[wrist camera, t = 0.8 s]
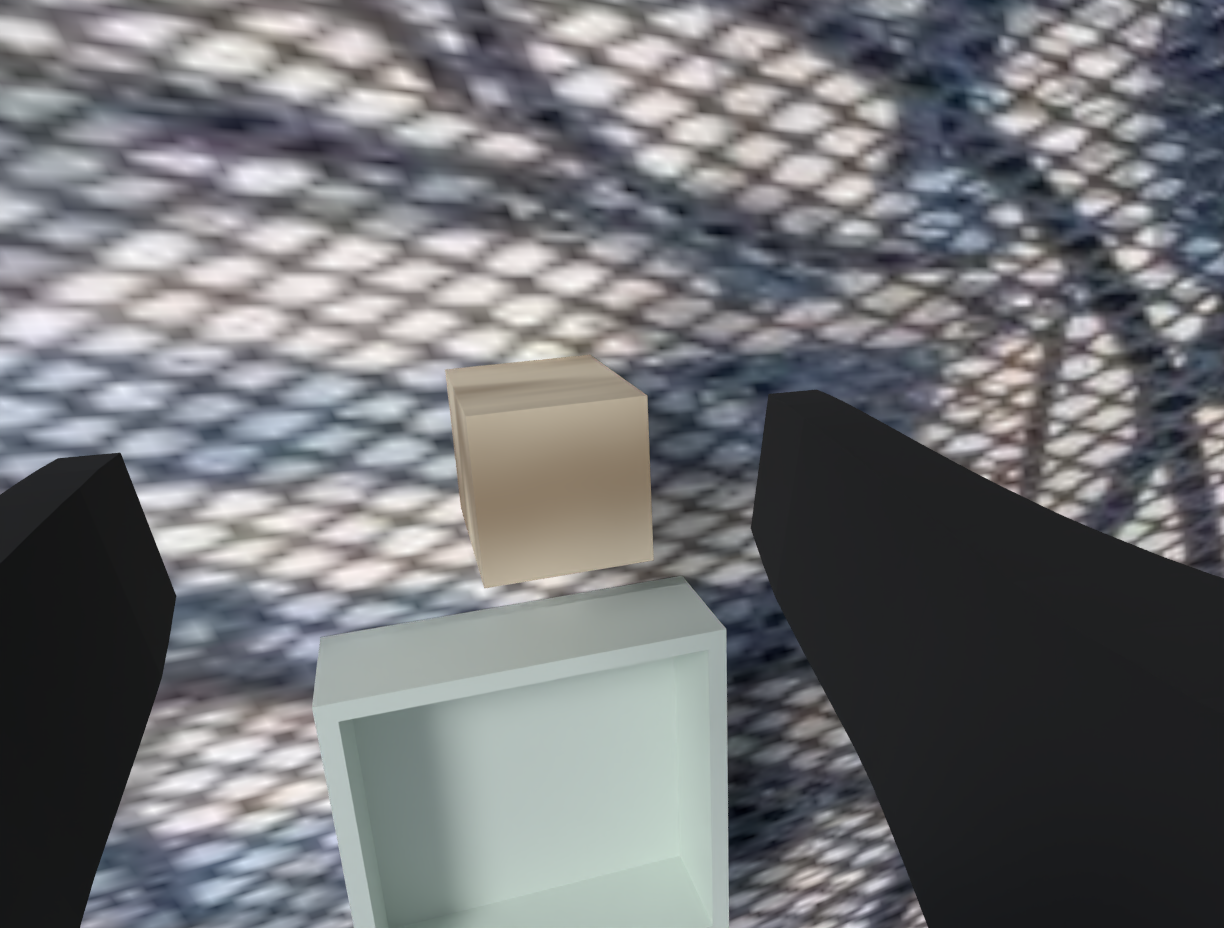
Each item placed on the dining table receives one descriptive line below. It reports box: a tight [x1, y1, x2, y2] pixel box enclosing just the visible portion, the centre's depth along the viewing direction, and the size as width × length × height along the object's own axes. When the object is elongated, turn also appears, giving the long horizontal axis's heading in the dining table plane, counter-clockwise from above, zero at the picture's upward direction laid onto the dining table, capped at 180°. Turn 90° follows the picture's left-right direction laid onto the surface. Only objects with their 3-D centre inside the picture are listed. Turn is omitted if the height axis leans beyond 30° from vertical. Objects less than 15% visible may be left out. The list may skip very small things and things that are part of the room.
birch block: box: [445, 355, 654, 588], centre depth 24 cm, size 4×4×6 cm
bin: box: [312, 576, 729, 928], centre depth 28 cm, size 12×12×4 cm
